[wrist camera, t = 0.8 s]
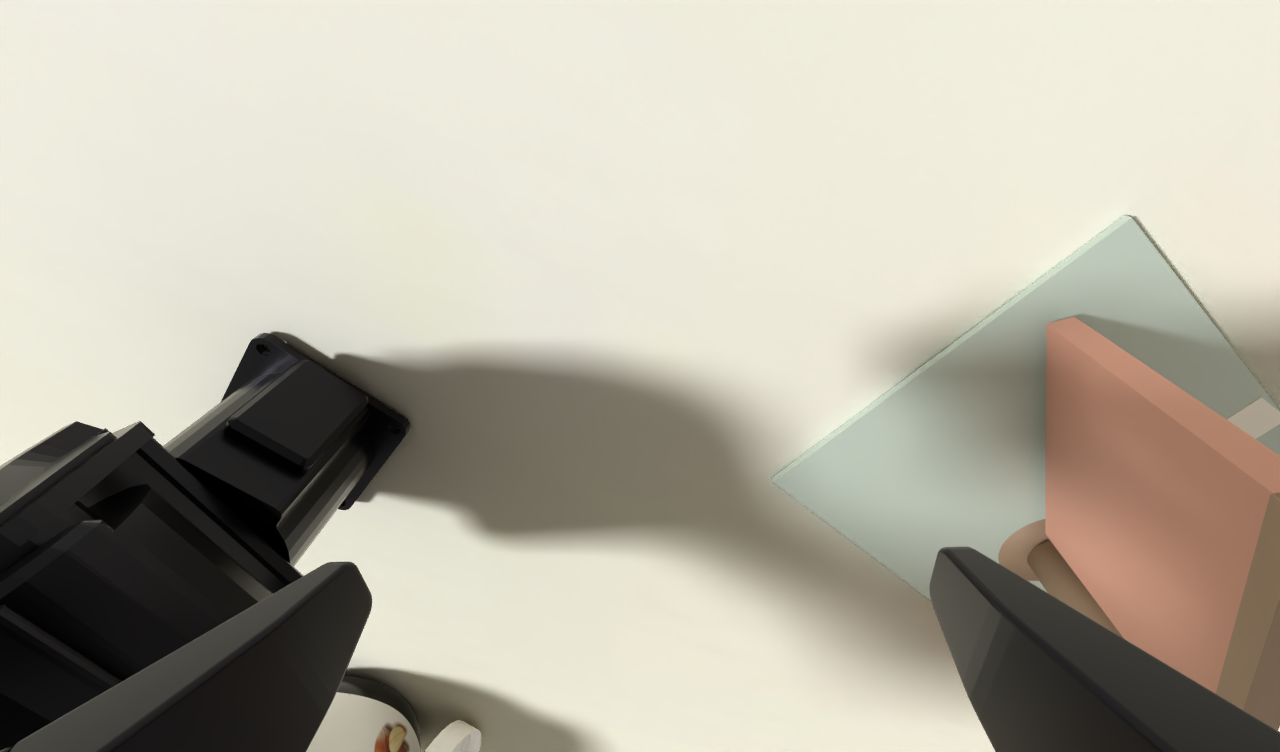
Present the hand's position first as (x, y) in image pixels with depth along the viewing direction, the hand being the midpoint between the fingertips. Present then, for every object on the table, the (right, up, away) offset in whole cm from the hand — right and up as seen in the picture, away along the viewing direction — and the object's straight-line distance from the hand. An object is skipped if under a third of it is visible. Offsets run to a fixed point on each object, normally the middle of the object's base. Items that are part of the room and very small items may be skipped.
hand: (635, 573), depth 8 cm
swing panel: (+16, 0, +12) cm, 20 cm away
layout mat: (+19, -3, +14) cm, 24 cm away
